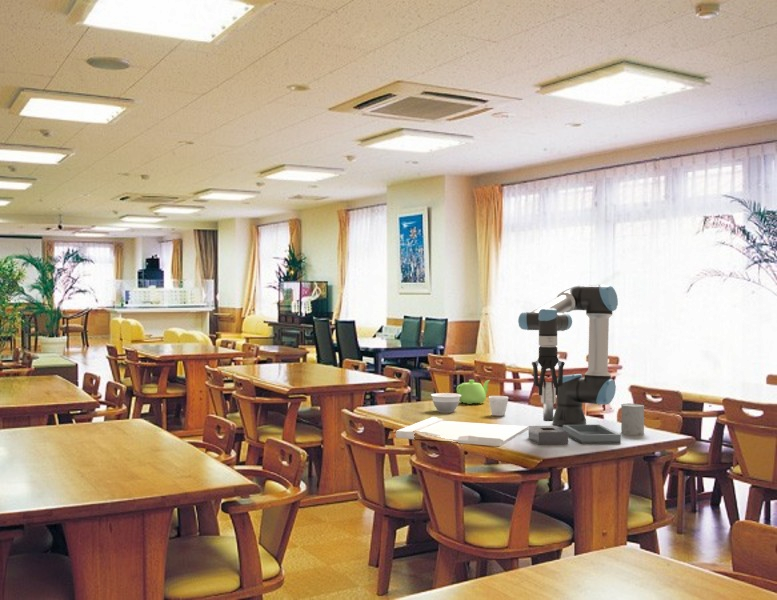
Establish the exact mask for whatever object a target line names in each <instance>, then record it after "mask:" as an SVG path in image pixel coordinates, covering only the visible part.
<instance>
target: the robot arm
mask: <svg viewBox="0 0 777 600" xmlns="http://www.w3.org/2000/svg"><path fill="white" fill-rule="evenodd" d="M618 300H619V298H618V294H617V291H616V290H615V288H614V287H613V286H612V285H610V284H609V285H608V284H607V285H606V284H588V285H587V284H586V285H584V284H583V285H582V284H581V285H576V286H573V287H572V286H571V287H570V288H568V289H566V290H563V291H562V292H559V294H557V296H556V297H555V298H553V299H552V300H550V301H548V302H546V303H545V304H543V305H542V306H540V307H537V309H534V310H533V311H531V312H527V311H526V312H521V313H520V314H519V316H518V320H517V322H518V327H519V328H520V329H521V330H525V331H526V330H527V331H538V358H537V360H535V361H532V362H531V366H532V367H533V368H532V371H533V375H532V376H533V385H534V386H535V387H537V388H538V396H540V403H541V404H544V388H543V382H544V378H546V377H545V375H546V372H547V370H549V371H550V373H551V378H553V405H554V404H556V409H555V411H554V413H553V421H552V424H553V426H558V427H560V426H561V427H563V425H587V418H586V415H585V412H584V410H583V409H584V408H583V404H591V405H598V406H599V405H602V406H603V405H605V406H606V405H609V404H610V403H612V402H613V399H614V398H615V394H616V390H617V389H616V388H617V386H616V382H615V380H614V379H612V376H611V375H612V374H611V373H610V372H609V371H608V370H609V369H608V365H609V330H610V329H609V326H610V325H609V324H610V323H609V322H610V318H611V317H612V316H613V312H614V311H616V310H617V308H618V304H619V301H618ZM572 311H585V315H586V316H587V318H588V321H589V322H588V323H589V325H588V326H589V327H588V358H587V359H588V363H587V365H588V366H587V371H586V372H585V373H584V377H583V374H581V373H576V374H575V373H573V374H566V375H565V374H564V366H565V363H566V362H564V361H562V360H560V359H559V356H558V347H557V346H558V332H565V331H568V330H569V329H570V328H572V325H573V318H572V316H571V315H570V314H568V313H570V312H572ZM557 365H558V369H557V370H558V371H557V372H558V373H557V374H556V366H557ZM538 366H540V375H539V371H538V370H539V369H538ZM538 376H539V377H538Z"/></svg>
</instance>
